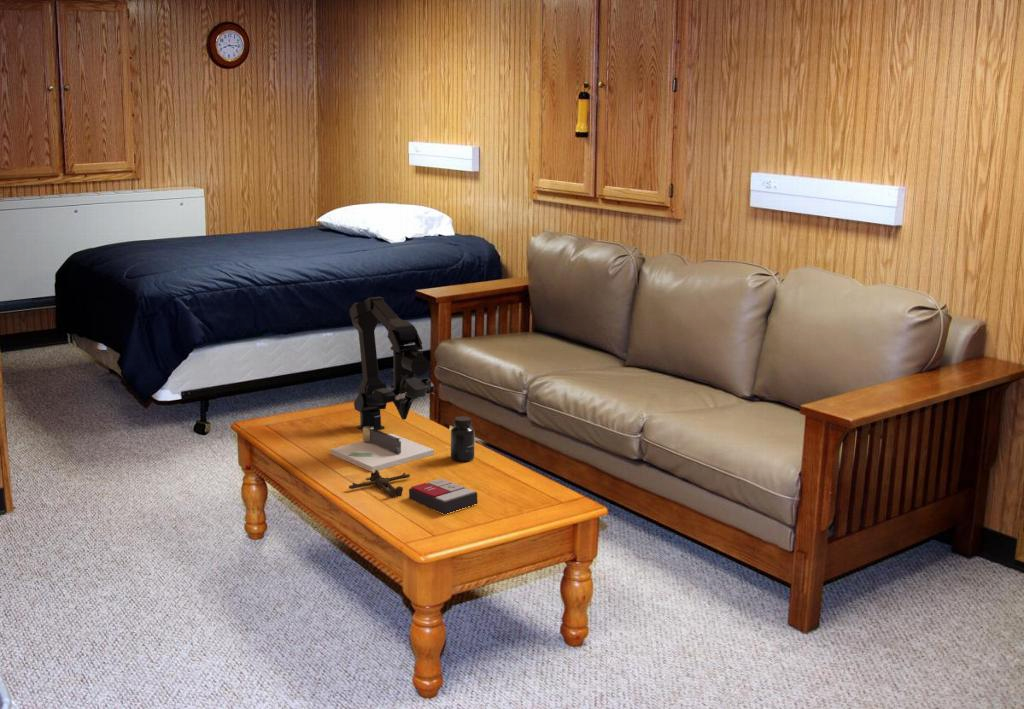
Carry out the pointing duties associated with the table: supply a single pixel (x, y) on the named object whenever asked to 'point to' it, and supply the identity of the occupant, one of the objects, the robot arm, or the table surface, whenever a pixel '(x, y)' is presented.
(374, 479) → the black cross stand base
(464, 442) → the supplement bottle
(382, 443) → the pointer
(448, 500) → the red grey black box
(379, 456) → the dial board
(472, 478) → the table surface
